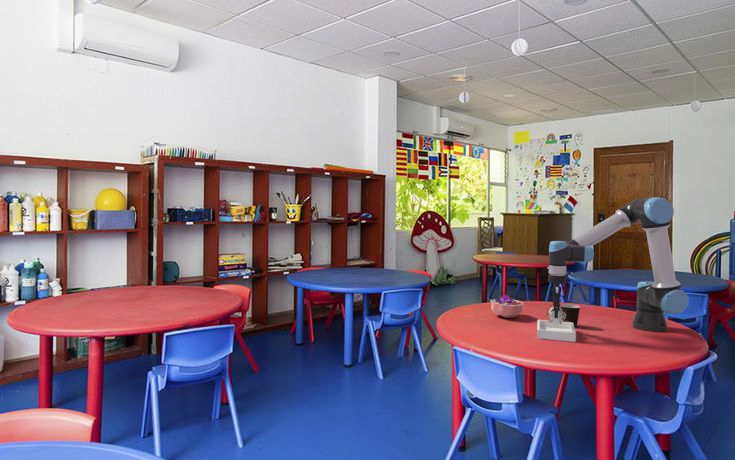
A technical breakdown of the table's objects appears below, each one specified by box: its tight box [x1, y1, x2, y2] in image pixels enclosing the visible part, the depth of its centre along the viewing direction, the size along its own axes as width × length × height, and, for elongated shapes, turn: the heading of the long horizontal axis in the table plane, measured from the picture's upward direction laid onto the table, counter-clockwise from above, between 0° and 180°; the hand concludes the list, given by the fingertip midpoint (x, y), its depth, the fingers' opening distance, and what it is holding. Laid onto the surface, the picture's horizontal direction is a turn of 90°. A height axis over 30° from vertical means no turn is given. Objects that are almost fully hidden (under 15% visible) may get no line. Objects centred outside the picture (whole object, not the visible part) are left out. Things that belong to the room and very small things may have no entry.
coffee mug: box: [560, 303, 581, 329], centre depth 244 cm, size 12×9×10 cm
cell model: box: [489, 294, 524, 319], centre depth 262 cm, size 17×20×11 cm
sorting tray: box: [536, 319, 577, 343], centre depth 226 cm, size 16×21×4 cm
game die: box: [545, 305, 566, 324], centre depth 226 cm, size 9×8×10 cm
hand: (555, 322), depth 226 cm, fingers closed on game die, 10 cm apart
